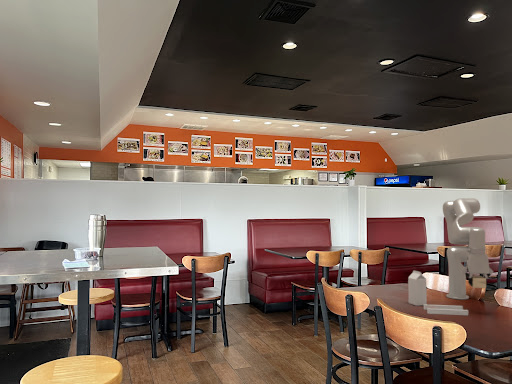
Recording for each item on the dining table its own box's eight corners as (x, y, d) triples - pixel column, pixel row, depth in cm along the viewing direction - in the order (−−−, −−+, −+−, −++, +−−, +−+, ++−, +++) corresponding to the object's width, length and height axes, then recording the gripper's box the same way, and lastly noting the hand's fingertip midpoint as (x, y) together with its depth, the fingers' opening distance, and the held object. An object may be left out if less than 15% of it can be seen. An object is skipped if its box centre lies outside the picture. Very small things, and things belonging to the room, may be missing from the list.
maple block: (469, 285, 223) (469, 276, 223) (481, 285, 222) (481, 276, 222) (473, 287, 217) (473, 278, 217) (486, 288, 216) (486, 278, 216)
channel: (423, 308, 229) (423, 304, 229) (462, 310, 225) (462, 305, 225) (427, 313, 219) (427, 308, 219) (468, 315, 216) (468, 310, 216)
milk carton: (416, 306, 236) (415, 272, 236) (408, 303, 242) (408, 270, 243) (426, 305, 237) (426, 271, 238) (418, 302, 244) (418, 270, 245)
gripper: (462, 252, 218) (462, 286, 218) (497, 252, 215) (498, 287, 215) (457, 250, 226) (458, 283, 225) (492, 250, 223) (492, 284, 222)
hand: (477, 285), depth 220 cm, fingers closed on maple block, 6 cm apart
